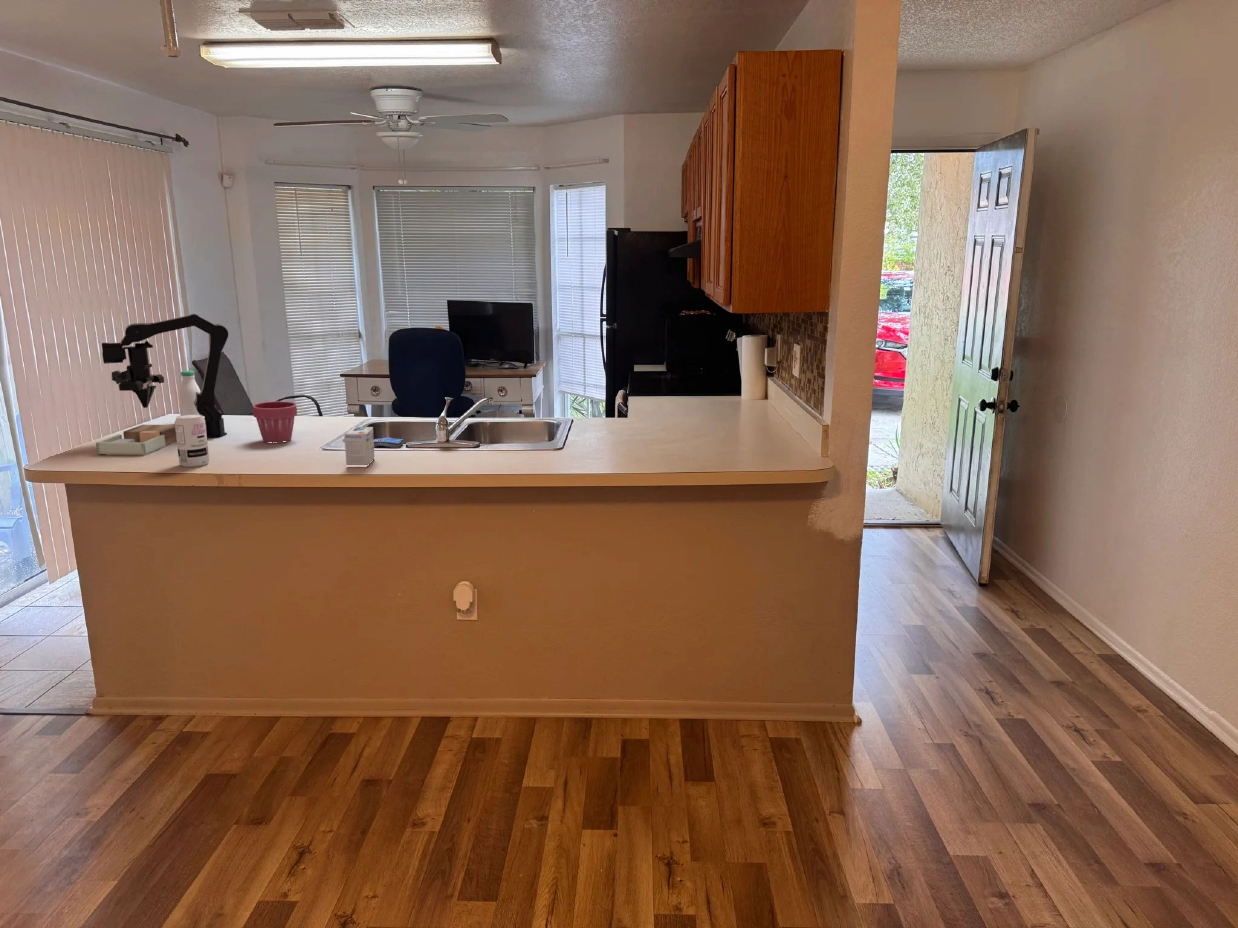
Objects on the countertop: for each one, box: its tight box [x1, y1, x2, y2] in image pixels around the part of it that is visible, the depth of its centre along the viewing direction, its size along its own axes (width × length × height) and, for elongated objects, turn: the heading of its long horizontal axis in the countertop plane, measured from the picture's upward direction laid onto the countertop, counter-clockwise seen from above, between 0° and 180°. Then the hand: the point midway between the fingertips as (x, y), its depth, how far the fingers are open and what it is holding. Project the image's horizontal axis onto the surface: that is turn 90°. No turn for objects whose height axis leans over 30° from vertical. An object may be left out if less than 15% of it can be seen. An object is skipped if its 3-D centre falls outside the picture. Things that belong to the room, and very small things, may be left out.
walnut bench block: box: [122, 424, 177, 447], centre depth 287 cm, size 13×12×5 cm
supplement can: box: [174, 414, 210, 468], centre depth 257 cm, size 8×8×15 cm
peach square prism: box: [139, 431, 160, 443], centre depth 279 cm, size 5×5×3 cm
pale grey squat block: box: [113, 438, 135, 443], centre depth 274 cm, size 5×5×3 cm
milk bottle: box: [178, 370, 205, 418], centre depth 318 cm, size 8×8×20 cm
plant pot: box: [252, 400, 298, 444], centre depth 291 cm, size 14×14×13 cm
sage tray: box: [95, 434, 167, 457], centre depth 275 cm, size 15×13×4 cm
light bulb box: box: [344, 426, 375, 466], centre depth 261 cm, size 11×7×11 cm, turn 4°
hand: (145, 407), depth 287 cm, fingers closed
